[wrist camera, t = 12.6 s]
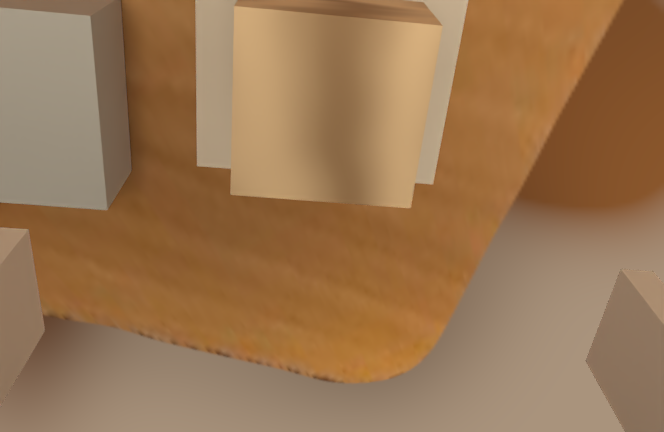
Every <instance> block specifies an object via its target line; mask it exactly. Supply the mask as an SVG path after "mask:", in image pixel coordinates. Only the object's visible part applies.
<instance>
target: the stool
mask: <svg viewBox="0 0 664 432" xmlns="http://www.w3.org/2000/svg"><path fill="white" fill-rule="evenodd" d="M442 28H443V25H442V24H441V23H440V22H439V20H438V19H437V18H436V17H435V16H434V14H433V13H432V12H431V11H430V10H429V8H428V7H427V6H426V5H425V4H424V2H416V1H406V0H237V2H236V4H235V5H234V34H233V85H232V137H231V188H230V195H238V196H252V197H265V198H279V199H292V200H305V201H319V202H332V203H346V204H359V205H372V206H386V207H399V208H411V203H412V198H413V192H414V186H415V181H416V175H417V169H418V164H419V158H420V152H421V147H422V141H423V135H424V130H425V124H426V119H427V113H428V107H429V102H430V96H431V90H432V85H433V79H434V73H435V68H436V62H437V56H438V51H439V45H440V39H441V34H442Z"/></svg>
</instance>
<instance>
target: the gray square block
mask: <svg viewBox="0 0 664 432" xmlns="http://www.w3.org/2000/svg"><path fill="white" fill-rule="evenodd" d="M131 171H132V165H131V149H130V133H129V118H128V102H127V87H126V71H125V56H124V40H123V24H122V9H121V0H0V202H1V203H15V204H29V205H42V206H56V207H70V208H84V209H98V210H108V208H109V207H110V205H111V204H112V202H113V200H114V199H115V197H116V195H117V194H118V192H119V191H120V189H121V187H122V186H123V184H124V183H125V181H126V179H127V178H128V176H129V174H130V173H131Z"/></svg>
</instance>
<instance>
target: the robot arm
mask: <svg viewBox="0 0 664 432" xmlns="http://www.w3.org/2000/svg"><path fill="white" fill-rule="evenodd" d="M44 331H45V328H44V322H43V315H42V309H41V303H40V297H39V291H38V284H37V278H36V272H35V266H34V260H33V253H32V247H31V241H30V235H29V229H17V228H2V227H0V406H1V405H2V403H3V401H4V399H5V398H6V396H7V395H8V393H9V391H10V389H11V388H12V386H13V384H14V383H15V381H16V379H17V377H18V376H19V374H20V372H21V370H22V369H23V367H24V365H25V364H26V362H27V360H28V358H29V357H30V355H31V353H32V352H33V350H34V348H35V347H36V345H37V343H38V341H39V340H40V338H41V336H42V335H43V333H44ZM586 362H587V364H588V366H589V368H590V370H591V371H592V373H593V375H594V377H595V378H596V381H597V382H598V384H599V386H600V388H601V390H602V391H603V393H604V395H605V396H606V399H607V400H608V402H609V404H610V406H611V408H612V409H613V411H614V413H615V415H616V416H617V418H618V420H619V422H620V424H621V425H622V427H623V429H624V431H625V432H664V284H663V282H662V281H661V280H660V279H659V278H658V276H657V275H656V274H655V273H654V272H653V271H641V270H626V269H621V270H620V272H619V275H618V278H617V280H616V283H615V286H614V288H613V291H612V293H611V296H610V299H609V301H608V304H607V306H606V309H605V312H604V314H603V317H602V320H601V322H600V325H599V328H598V330H597V333H596V335H595V338H594V340H593V343H592V346H591V348H590V351H589V354H588V356H587V359H586Z"/></svg>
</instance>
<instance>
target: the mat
mask: <svg viewBox="0 0 664 432" xmlns="http://www.w3.org/2000/svg"><path fill="white" fill-rule="evenodd" d="M406 1H416V2H424V4H425V5H426V6H427V7H428V8H429V10H430V11H431V12H432V13H433V14H434V16H435V17H436V18H437V19H438V20H439V22H440V23H441V24H442V25H443V28H442V34H441V39H440V45H439V51H438V56H437V62H436V68H435V73H434V79H433V85H432V90H431V96H430V102H429V107H428V113H427V119H426V124H425V130H424V135H423V141H422V147H421V152H420V158H419V164H418V169H417V175H416V181H415V183H422V184H433V181H434V176H435V171H436V166H437V161H438V155H439V150H440V145H441V140H442V135H443V130H444V124H445V119H446V114H447V109H448V104H449V98H450V93H451V88H452V83H453V78H454V72H455V67H456V62H457V57H458V52H459V46H460V41H461V36H462V31H463V26H464V20H465V15H466V10H467V5H468V0H406ZM236 2H237V0H195V9H196V119H197V166H202V167H215V168H228V169H231V137H232V85H233V34H234V5H235V4H236Z"/></svg>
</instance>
